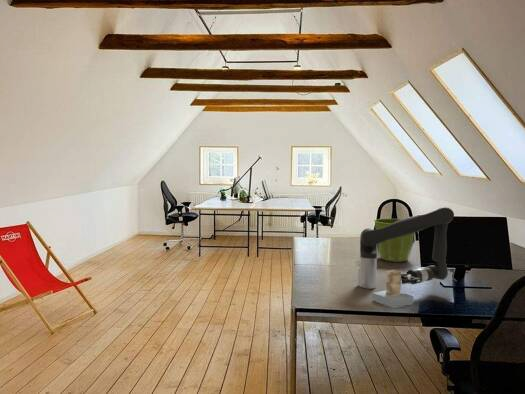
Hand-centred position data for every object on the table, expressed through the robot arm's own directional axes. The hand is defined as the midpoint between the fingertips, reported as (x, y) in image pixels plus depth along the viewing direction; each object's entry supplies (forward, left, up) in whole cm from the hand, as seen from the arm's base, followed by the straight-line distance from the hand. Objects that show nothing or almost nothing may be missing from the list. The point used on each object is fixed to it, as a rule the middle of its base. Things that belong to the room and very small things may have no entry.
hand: (395, 279), depth 223 cm
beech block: (0, -2, -7) cm, 8 cm away
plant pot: (-70, +76, -12) cm, 104 cm away
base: (0, -2, -11) cm, 12 cm away
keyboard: (-34, +95, -12) cm, 101 cm away
